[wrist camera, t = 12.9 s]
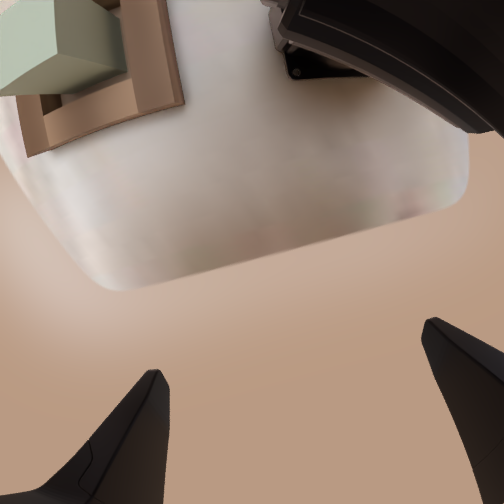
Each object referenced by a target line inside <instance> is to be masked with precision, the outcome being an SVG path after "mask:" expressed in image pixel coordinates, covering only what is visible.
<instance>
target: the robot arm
mask: <svg viewBox="0 0 504 504" xmlns="http://www.w3.org/2000/svg"><path fill="white" fill-rule="evenodd" d="M260 1H261V2H262V4H263V5H265V6H269V7H271V8H270V11H269V19H270V24H271V28H272V33H273V38H274V43H275V48H276V49H277V50H278V51H280V52H282V51H283V56H284V61H285V66H286V72H287V75H288V77H289V78H290V79H291V80H294V81H299V80H311V79H326V78H351V77H372V78H374V79H376V80H378V81H379V82H381V83H383V84H385V85H387V86H389V87H391V88H393V89H395V90H396V91H398V92H400V93H402V94H403V95H405V96H407V97H409V98H410V99H412V100H414V101H415V102H417V103H419V104H420V105H422V106H424V107H425V108H427V109H428V110H430V111H431V112H433V113H435V114H436V115H438V116H439V117H441V118H442V119H444V120H445V121H447V122H449V123H450V124H452V125H453V126H455V127H457V128H461V129H462V130H463V131H465V132H466V133H477V134H480V133H485V132H489V131H494V130H495V131H496V132H497V133H498V134H499V135H500V136H501V137H503V138H504V0H260ZM293 69H297V70H298V71H299V76H294V75H293V74H292V70H293ZM421 341H422V345H423V347H424V350H425V353H426V355H427V358H428V361H429V364H430V366H431V369H432V372H433V375H434V377H435V380H436V382H437V384H438V386H439V388H440V391H441V393H442V395H443V397H444V399H445V402H446V404H447V406H448V408H449V411H450V413H451V415H452V417H453V420H454V422H455V425H456V427H457V429H458V432H459V435H460V437H461V439H462V442H463V444H464V447H465V450H466V452H467V455H468V458H469V461H470V463H471V466H472V469H473V473H474V476H475V479H476V481H477V484H478V488H479V491H480V494H481V498H482V501H483V504H503V503H504V353H503V352H501V351H499V350H497V349H496V348H494V347H492V346H490V345H488V344H486V343H485V342H483V341H481V340H479V339H477V338H475V337H474V336H472V335H470V334H468V333H466V332H464V331H462V330H460V329H459V328H457V327H455V326H453V325H451V324H449V323H447V322H445V321H444V320H441V319H440V318H437V317H433V318H430V319H427V320H426V321H425V324H424V328H423V332H422V337H421ZM169 416H170V389H169V385H168V383H167V381H166V379H165V378H164V376H163V374H162V372H161V371H160V370H158V369H154V370H148V371H146V373H145V374H144V375H143V376H142V377H141V378H140V379H139V381H138V382H137V383H136V384H135V385H134V386H133V388H132V389H131V390H130V391H129V392H128V394H127V395H126V396H125V397H124V398H123V399H122V401H121V402H120V403H119V404H118V405H117V407H116V408H115V409H114V410H113V411H112V412H111V414H110V415H109V416H108V417H107V418H106V419H105V420H104V422H103V423H102V424H101V425H100V426H99V428H98V429H97V430H96V431H95V432H94V433H93V434H92V436H91V437H90V438H89V440H87V441H86V443H85V444H84V445H83V446H82V447H81V448H80V449H79V451H78V452H77V453H76V454H75V455H74V456H73V457H72V458H71V459H70V460H69V461H68V462H67V463H66V464H65V465H64V466H63V467H62V468H61V469H60V470H59V471H58V472H57V473H56V474H54V476H52V477H51V478H50V479H49V480H48V481H47V482H46V483H45V484H43V485H42V486H41V487H39V488H37V489H34V490H31V491H27V492H21V493H15V494H8V495H1V496H0V504H163V498H164V484H165V472H166V461H167V450H168V440H169V430H170V417H169Z"/></svg>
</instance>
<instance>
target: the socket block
mask: <svg viewBox="0 0 504 504" xmlns="http://www.w3.org/2000/svg"><path fill="white" fill-rule="evenodd" d="M92 1H93V2H95V3H97V4H98V5H100V6H101V7H103V8H104V9H106V10H107V11H109V12H110V13H112V14H113V15H115V16H116V17H118V18H119V19H120V27H121V34H122V40H123V47H124V53H125V59H126V65H127V70H128V72H126V73H123V74H121V75H118V76H115V77H113V78H110V79H108V80H105V81H103V82H100V83H98V84H95V85H93V86H91V87H88V88H86V89H84V90H82V91H79V92H77V93H75V94H34V95H16V102H17V109H18V115H19V120H20V126H21V131H22V136H23V140H24V145H25V149H26V153H27V157H28V158H29V157H32V156H34V155H37V154H40V153H43V152H46V151H50V150H53V149H55V148H57V147H59V146H61V145H64V144H66V143H68V142H71V141H73V140H76V139H78V138H81V137H83V136H86V135H88V134H91V133H93V132H96V131H99V130H101V129H104V128H107V127H110V126H112V125H115V124H118V123H121V122H124V121H127V120H130V119H133V118H136V117H140V116H143V115H146V114H150V113H153V112H157V111H160V110H164V109H167V108H171V107H175V106H179V105H183V104H185V102H184V97H183V92H182V87H181V82H180V76H179V71H178V66H177V61H176V55H175V50H174V44H173V39H172V33H171V27H170V21H169V15H168V9H167V3H166V0H92Z"/></svg>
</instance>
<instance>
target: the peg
mask: <svg viewBox="0 0 504 504" xmlns="http://www.w3.org/2000/svg"><path fill="white" fill-rule="evenodd" d="M126 72H128V70H127V65H126V59H125V53H124V47H123V40H122V34H121V27H120V19H119V18H118V17H116V16H115V15H113V14H112V13H110V12H109V11H107V10H106V9H104V8H103V7H101V6H100V5H98V4H97V3H95V2H93V1H92V0H19V1H18V2H16V3H15V4H14V5H12V6H11V7H10V8H8V9H7V10H6V11H4V12H3V13H2V14H1V15H0V97H1V96H14V95H34V94H75V93H77V92H79V91H82V90H84V89H86V88H88V87H91V86H93V85H95V84H98V83H100V82H103V81H105V80H108V79H110V78H113V77H115V76H118V75H121V74H123V73H126Z"/></svg>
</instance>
